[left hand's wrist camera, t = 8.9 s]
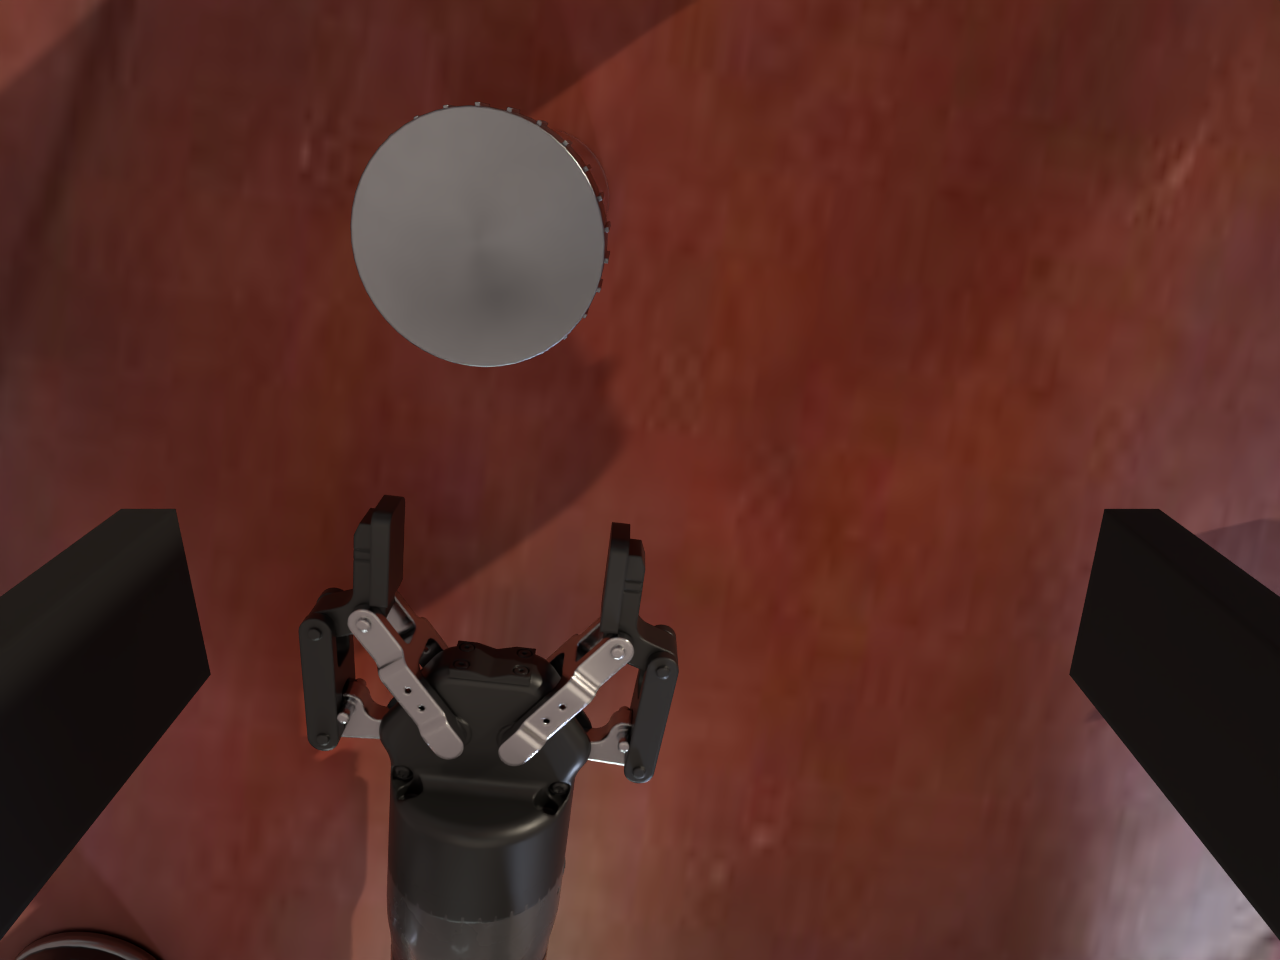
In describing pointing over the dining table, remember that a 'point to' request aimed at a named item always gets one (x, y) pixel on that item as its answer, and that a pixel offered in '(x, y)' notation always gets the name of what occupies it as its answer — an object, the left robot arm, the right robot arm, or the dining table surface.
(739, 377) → the dining table surface
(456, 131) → the lid
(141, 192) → the dining table surface
